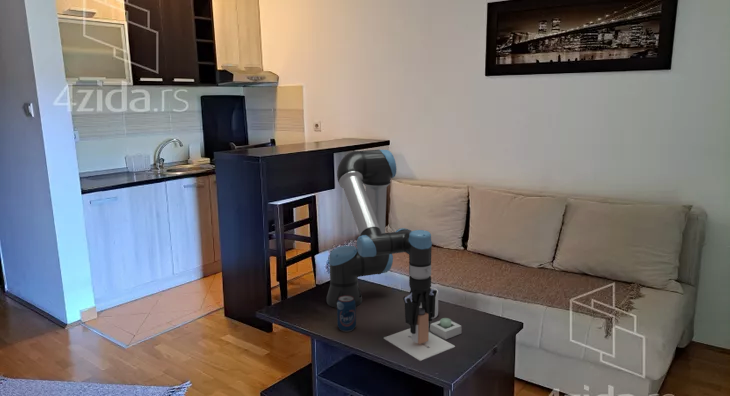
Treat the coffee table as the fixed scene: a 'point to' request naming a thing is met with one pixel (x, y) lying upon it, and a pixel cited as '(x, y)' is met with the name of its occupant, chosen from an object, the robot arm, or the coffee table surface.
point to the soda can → (346, 313)
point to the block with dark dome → (422, 326)
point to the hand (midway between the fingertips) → (420, 339)
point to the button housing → (445, 330)
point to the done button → (445, 323)
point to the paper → (419, 345)
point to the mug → (435, 304)
